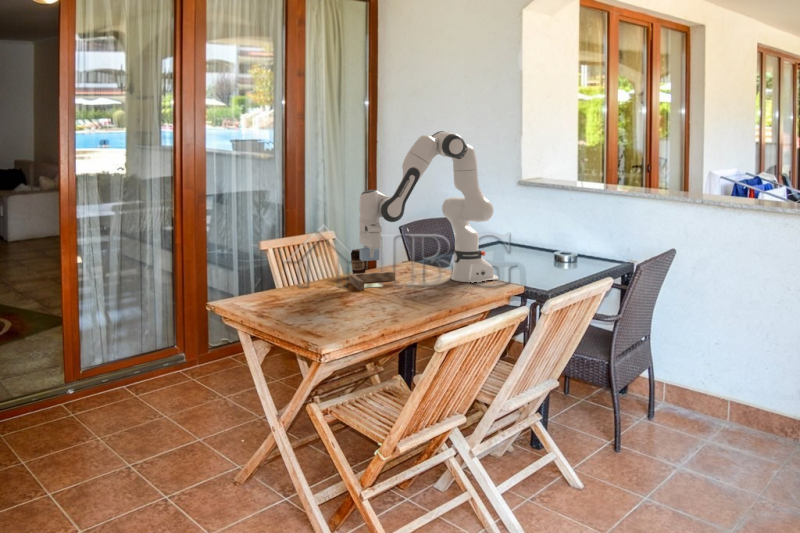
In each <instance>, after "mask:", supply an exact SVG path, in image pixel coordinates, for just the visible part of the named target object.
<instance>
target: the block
mask: <svg viewBox="0 0 800 533" xmlns="http://www.w3.org/2000/svg"><path fill="white" fill-rule="evenodd" d="M359 249H360V260H362V261H367V262H369V261H370V262H371V261H380V248H379V249H375V251H374V257H372V258H371V257H369V253H370V250H369V248H364V247H362V248H359Z"/></svg>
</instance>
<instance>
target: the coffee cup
mask: <svg viewBox="0 0 800 533" xmlns="http://www.w3.org/2000/svg"><path fill="white" fill-rule="evenodd" d="M350 261H351V271H352V274H360V273H366V270H367V266H368V265H367V264H368V261H362V260H360V248H356V249H352V250H351V252H350Z"/></svg>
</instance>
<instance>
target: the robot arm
mask: <svg viewBox="0 0 800 533" xmlns="http://www.w3.org/2000/svg"><path fill="white" fill-rule="evenodd" d="M438 155H440V156H442V157H444V158H445V157H448V158H451V159H452V160H451V161H452V163H453V164H452V167H453V184H454V187H455V188H456V190H458V191H460V193H462V195H463V197H462V196H452V197H448V198H446V199H445V200H444V201H443V203H442V206H441V210H442V214H443V215H444V217H445V218H446V219H447V220H448V221H449V223H450V224H451V226H452V229H453V231H454V232H453V233H454V246H455V247H454V250H453V260H454V262H453V270H452V274H451V277H450V279H451V280H452V281H456V282H462V283H470V282H471V284H472V283H473V284H475V283H474V282H477V283H483V282H482V281H485V282H487V281H486V280H493V281H498V280H499V276H498V275H497V274H494V273H495V272H494V268H493V265H492V264H490V263H489V262H488V261H487V260H485V259H484V258H483V257H485V256H486V251H484V250H482V251H481V250H479V242H480V239H479V238H480V236H479V233H478V231H476V230H475V229H474V228H473V227H472V226H471V224H470V222H473V223H482V222H488V221H489V220H491V218H492V217H493V214H494V206H493V204H492V202H491V201H490V200H489V199H488V198H487V196H485V195H484V194H483V192H482V190H481V187H480V183H479V177H478V176H479V174H478V160H477V155H476V151H475V149H474V147H473V146H472V145H470V144H466V142H465V140H464V139H463V137H462V136H461V135H459V134H458V133H454V132H451V131H444V130H441V131H437V132H435V133H433V134H432V135H428V134H423V135H421V136H419V137H418V139H417V140H416V141H415V142H414V143H413V145H412V146H411V147H410V149H409V150H408V152H407V153H406V155H405V157H404V160H403V162H402V165H401V168H402V179H401V181H400V183H399V185H398V186H397V188H396V190H395V192H394V194H393V195H392V196H388V195H386V194H384V193H382V192H379V191H378V190H377V189H368V190H364V191H363V192H362V193H361V194H360V196H359V212H360V213H359V215H360V216H359V236H358V237H359V239H358V240H359V244H361V245H363V248H369V250H370V253H369V257H371V258H372V257H374V251H375V249H379V250H380V248H381V239H382V238H381V235H382V234H381V233H382V229H383V228H382V226H381V224H380V218H383V219H384V220H385V221H387V222H390V223H396V222H399V221H400V220H401V219H402V217H403V216H404V214H405V208H406V203H407V201H408V199H409V197H410V196H411V194H412V192H413V190H414V188H415V187H416V185H417V183H418V181H420V178H421V177H422V176H423V175H424V174H425V172H426V171H427V169H428V168H429V166H430V165H431V162H433V160H434V158H436V156H438ZM482 256H483V257H482Z"/></svg>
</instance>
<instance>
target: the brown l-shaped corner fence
mask: <svg viewBox="0 0 800 533" xmlns="http://www.w3.org/2000/svg"><path fill="white" fill-rule="evenodd" d="M395 275H396V272H395V271H394V270H393V271H389V270H388V271H377V272H375V271H374V272H365V273H360V274H353V273H352V274H349V276H348V277H349V282H348V283H349V284H350V285H351V284H352V285H351V286H352V287H354V288H355V289H357V290H359V291H360V292H361V291H365V289H368V288H369V289H370V288H383V287H384V285H382V284H381V283H379V282H387V281H388V282H391V281H395V280H396V276H395ZM374 282H375V283H374Z"/></svg>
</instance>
